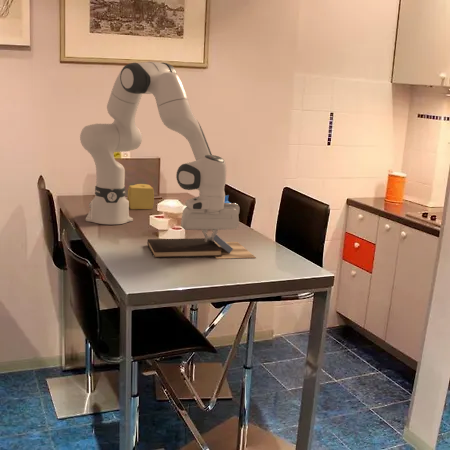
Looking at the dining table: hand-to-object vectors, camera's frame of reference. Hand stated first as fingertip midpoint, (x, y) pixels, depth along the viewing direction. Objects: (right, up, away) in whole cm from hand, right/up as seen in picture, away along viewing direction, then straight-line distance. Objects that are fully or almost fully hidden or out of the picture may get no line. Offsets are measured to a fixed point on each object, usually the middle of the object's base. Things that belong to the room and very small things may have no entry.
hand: (209, 241), depth 212 cm
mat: (+6, -3, +3) cm, 8 cm away
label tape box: (+5, +5, +39) cm, 40 cm away
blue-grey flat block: (+4, -1, +1) cm, 4 cm away
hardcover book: (-9, -3, -2) cm, 9 cm away
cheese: (-33, +14, +64) cm, 73 cm away
